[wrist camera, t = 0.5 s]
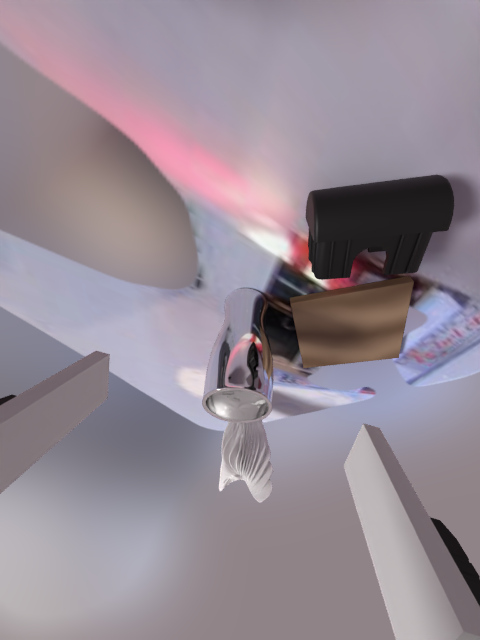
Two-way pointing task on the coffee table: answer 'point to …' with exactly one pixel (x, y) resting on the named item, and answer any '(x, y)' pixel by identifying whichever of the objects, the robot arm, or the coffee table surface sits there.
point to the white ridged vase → (246, 458)
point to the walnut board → (352, 322)
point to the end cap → (376, 223)
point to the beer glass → (241, 362)
